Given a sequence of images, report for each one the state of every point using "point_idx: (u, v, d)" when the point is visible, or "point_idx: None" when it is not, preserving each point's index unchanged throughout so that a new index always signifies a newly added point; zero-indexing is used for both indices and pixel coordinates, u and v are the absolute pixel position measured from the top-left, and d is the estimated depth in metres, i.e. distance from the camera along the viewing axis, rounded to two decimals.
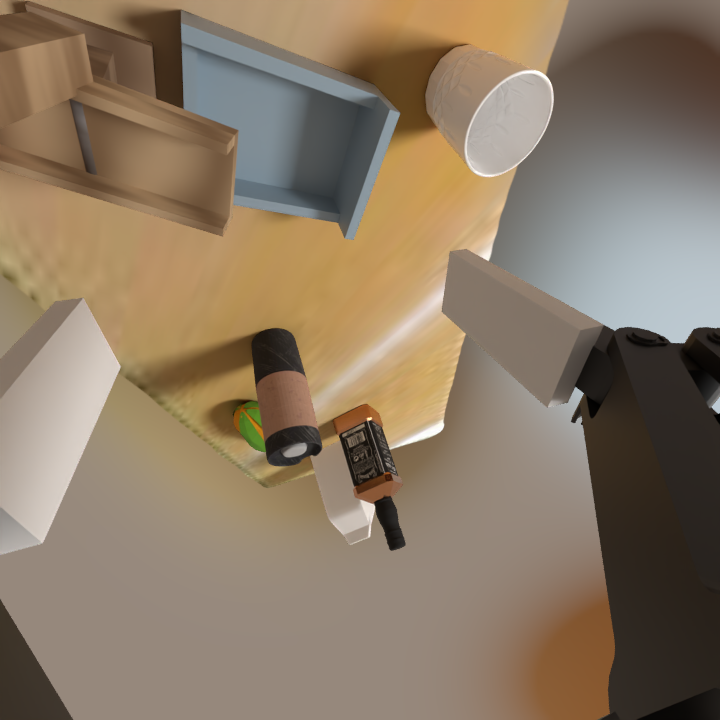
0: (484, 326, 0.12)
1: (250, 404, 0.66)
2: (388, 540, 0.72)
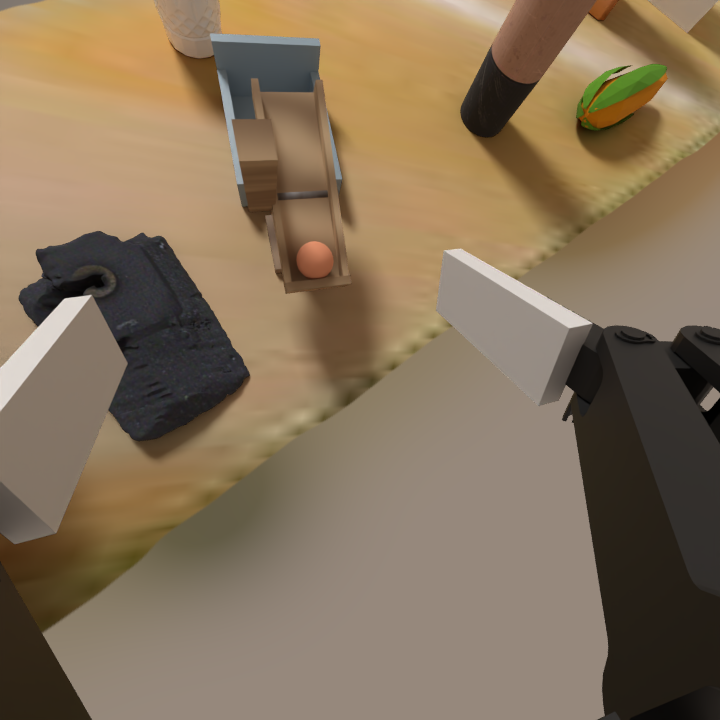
0: (477, 325, 0.12)
1: (578, 111, 0.53)
2: None
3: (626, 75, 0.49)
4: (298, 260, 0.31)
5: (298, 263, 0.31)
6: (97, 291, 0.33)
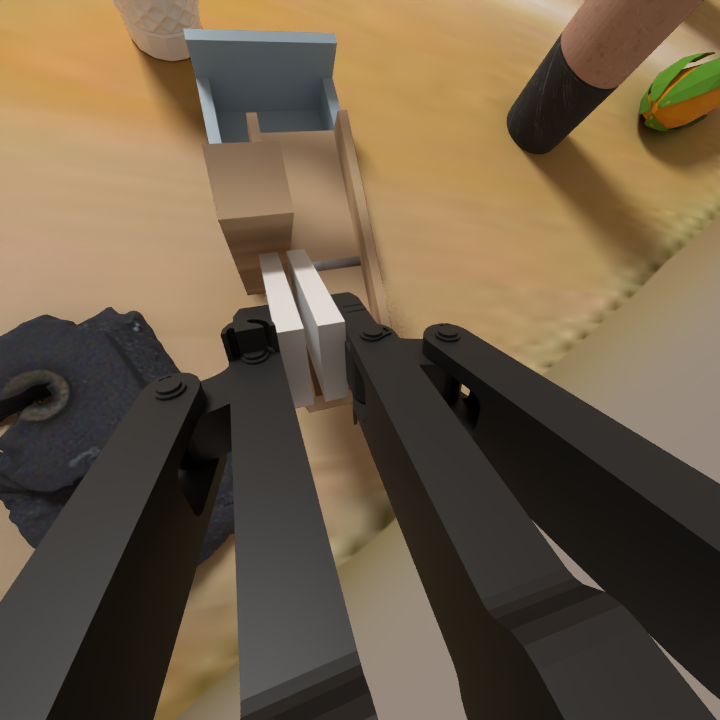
0: (303, 323, 0.13)
1: (643, 106, 0.43)
2: None
3: (710, 62, 0.39)
4: None
5: None
6: (40, 411, 0.23)
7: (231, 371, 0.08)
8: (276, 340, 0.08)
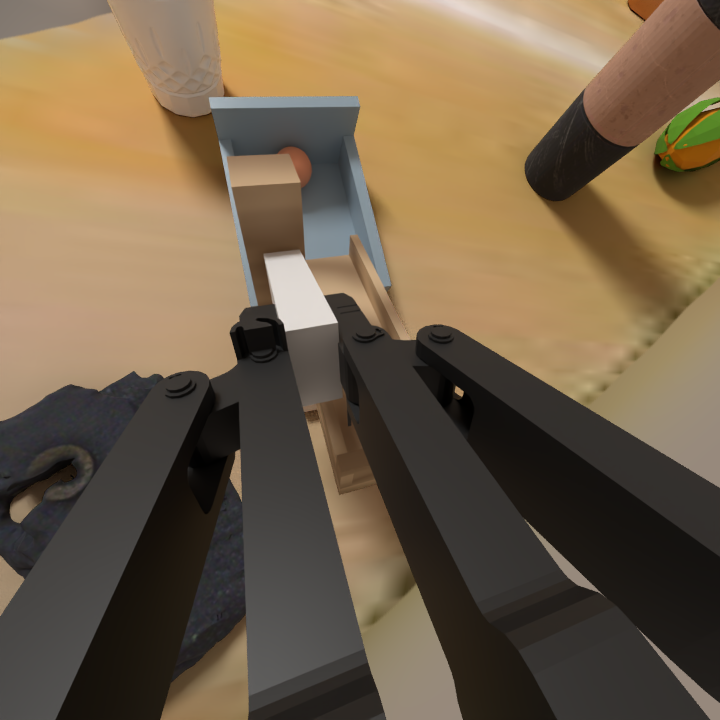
0: None
1: (659, 146, 0.43)
2: None
3: None
4: None
5: None
6: (64, 488, 0.23)
7: (240, 369, 0.08)
8: (284, 339, 0.08)
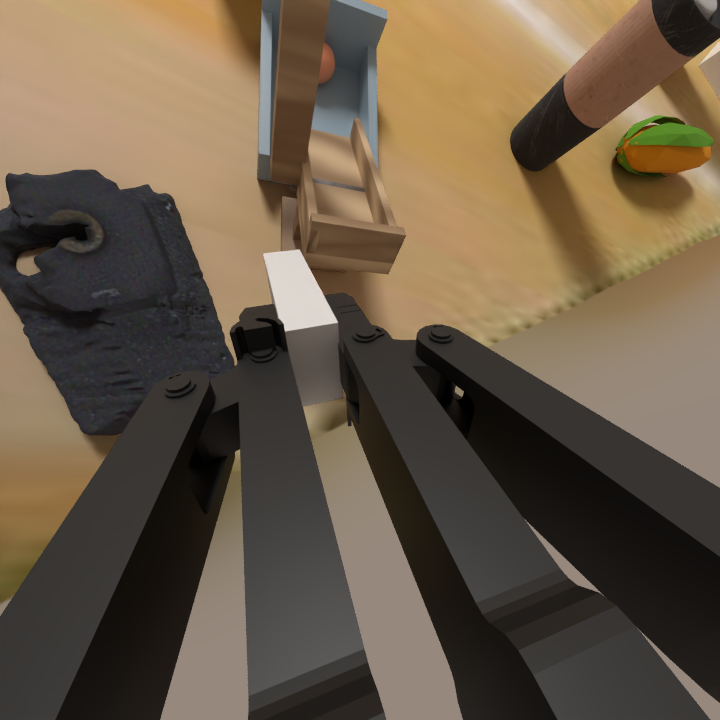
0: None
1: (619, 142, 0.52)
2: None
3: (676, 124, 0.48)
4: None
5: None
6: (76, 244, 0.27)
7: (239, 369, 0.08)
8: (284, 339, 0.08)
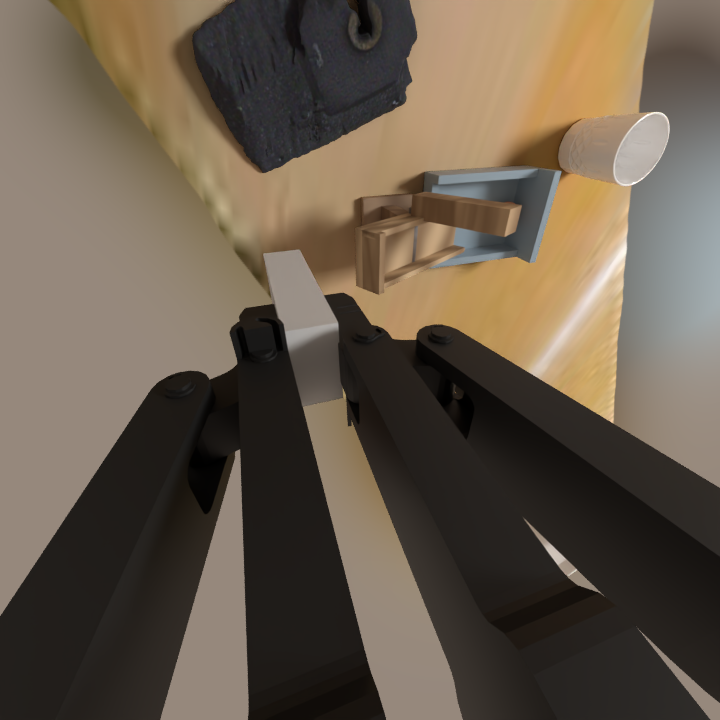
0: None
1: None
2: None
3: None
4: None
5: None
6: (354, 27, 0.32)
7: (239, 369, 0.08)
8: (284, 339, 0.08)
